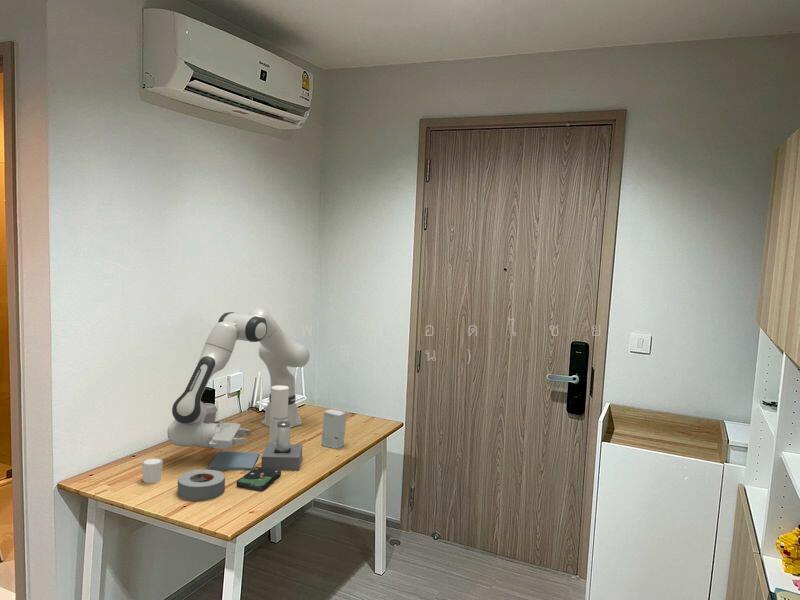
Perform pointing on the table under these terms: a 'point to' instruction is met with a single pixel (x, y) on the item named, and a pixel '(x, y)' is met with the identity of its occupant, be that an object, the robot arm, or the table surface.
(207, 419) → the coffee cup
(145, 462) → the light grey cylinder
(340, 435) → the skincare box
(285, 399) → the cylindrical container
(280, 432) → the metal plug
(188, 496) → the tape roll
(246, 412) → the table surface
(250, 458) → the rubber mat
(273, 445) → the block
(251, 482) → the disk drive
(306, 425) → the table surface
